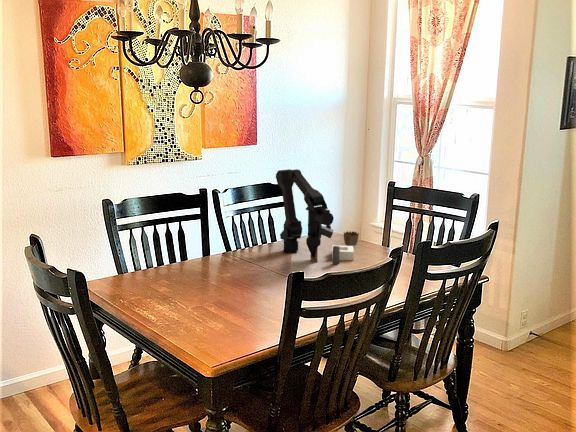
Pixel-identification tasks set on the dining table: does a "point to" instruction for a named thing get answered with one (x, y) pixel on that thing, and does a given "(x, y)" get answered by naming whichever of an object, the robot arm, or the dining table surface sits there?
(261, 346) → the dining table surface
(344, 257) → the socket block
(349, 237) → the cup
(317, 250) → the square peg
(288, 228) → the robot arm
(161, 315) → the dining table surface
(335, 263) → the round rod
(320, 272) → the dining table surface
